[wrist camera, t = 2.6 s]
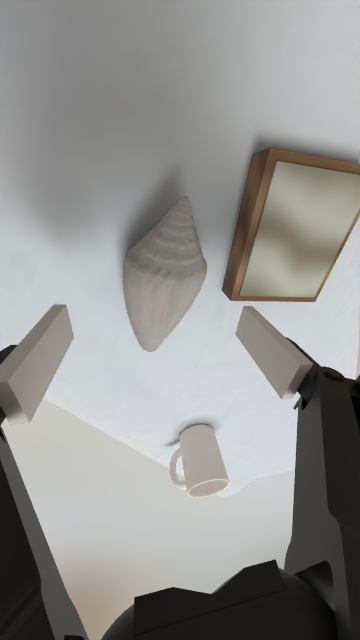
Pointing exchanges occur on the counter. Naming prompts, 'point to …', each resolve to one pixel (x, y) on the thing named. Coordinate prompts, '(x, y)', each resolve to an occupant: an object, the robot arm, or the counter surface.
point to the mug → (199, 463)
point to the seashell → (163, 276)
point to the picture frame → (291, 226)
